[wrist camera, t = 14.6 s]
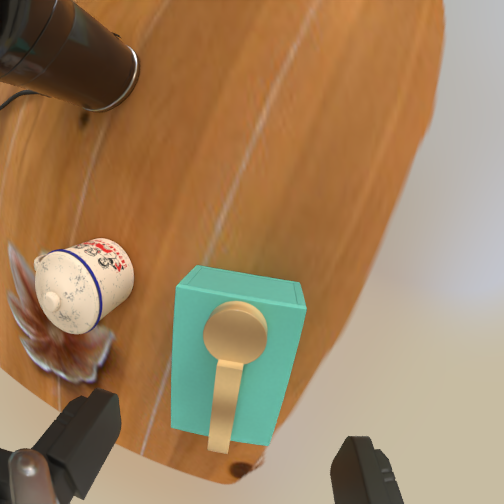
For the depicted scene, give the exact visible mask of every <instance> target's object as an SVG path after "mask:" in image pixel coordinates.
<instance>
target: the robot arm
mask: <svg viewBox="0 0 504 504" xmlns="http://www.w3.org/2000/svg"><path fill="white" fill-rule="evenodd" d="M116 36H118V37H120V36H119V35H117V34H115V33H112V32H110V31H109V30H108V29H107V28H105V27H104V26H103V25H102V24H101V23H99V22H98V21H97V20H96V19H94V18H93V17H92V16H91V15H90V14H88V13H87V12H86V11H85V10H83V9H82V8H81V7H79V6H78V5H77V4H76V3H74V2H73V1H72V0H0V82H3V83H7V84H11V85H14V86H18V87H22V88H25V89H28V90H23V91H20V92H18V93H16V94H14V95H13V96H12V97H10V98H9V99H8V100H7V101H6V102H4V103H3V104H2V105H1V106H0V110H1V109H3V108H4V107H5V106H6V105H7V104H9V103H10V102H11V101H12V100H14V99H15V98H17V97H18V96H21V95H25V94H40V95H44V96H47V97H54V98H57V99H60V100H63V101H66V102H68V103H71V104H74V105H77V106H80V107H82V108H84V109H86V110H89V111H92V112H104V111H108V110H110V109H112V108H114V107H116V106H117V105H119V104H120V103H121V102H123V101H124V100H125V99H126V98H127V97H128V95H129V94H130V93H131V91H132V90H133V88H134V87H135V85H136V82H137V80H138V77H139V73H140V61H139V58H138V56H137V54H136V53H135V51H134V50H132V49H131V48H130V47H129V46H127V45H125V44H124V43H123V42H122V41H121V40H120V39H119V38H117V37H116ZM120 38H121V37H120ZM120 430H121V416H120V407H119V398H118V395H117V394H115V393H112V392H109V391H106V390H104V389H101V388H96V389H94V391H93V392H92V393H91V394H90V396H89V397H88V398H86V397H84V396H80V397H78V398H76V399H74V400H72V401H70V402H69V403H68V405H67V406H66V407H65V408H64V409H63V411H62V413H60V415H59V416H58V417H57V419H56V420H54V422H53V423H52V424H51V425H50V427H49V428H48V429H47V430H46V432H45V433H44V434H43V435H42V437H41V438H40V439H39V440H38V442H37V443H36V444H35V445H34V446H33V447H32V448H31V449H27V448H26V449H25V448H24V449H19V450H16V451H15V452H11V451H7V450H4V449H1V448H0V504H70V501H71V500H72V498H73V496H76V497H78V498H80V499H82V500H84V498H85V497H86V495H87V493H88V491H89V489H90V487H91V486H92V484H93V482H94V480H95V478H96V476H97V475H98V473H99V471H100V469H101V467H102V465H103V464H104V462H105V460H106V458H107V456H108V454H109V452H110V451H111V449H112V447H113V446H114V444H115V442H116V440H117V438H118V436H119V434H120ZM330 476H331V482H332V488H333V494H334V501H335V504H404V502H403V499H402V496H401V493H400V490H399V487H398V484H397V482H396V481H395V476H394V473H393V472H392V467H391V465H390V462H389V459H388V458H387V457H386V456H385V454H383V452H382V451H381V450H380V449H376V450H374V447H373V444H372V441H371V439H370V437H368V436H348V437H347V438H346V439H345V441H344V443H343V444H342V446H341V448H340V450H339V451H338V453H337V455H336V456H335V458H334V460H333V462H332V465H331V470H330Z"/></svg>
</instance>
